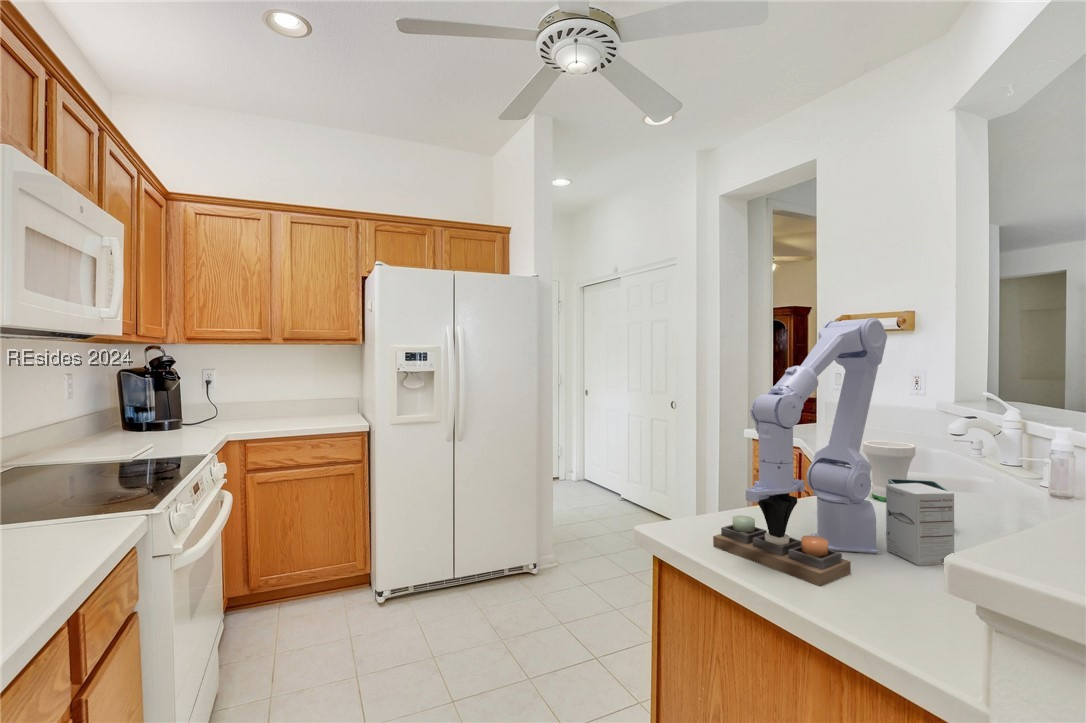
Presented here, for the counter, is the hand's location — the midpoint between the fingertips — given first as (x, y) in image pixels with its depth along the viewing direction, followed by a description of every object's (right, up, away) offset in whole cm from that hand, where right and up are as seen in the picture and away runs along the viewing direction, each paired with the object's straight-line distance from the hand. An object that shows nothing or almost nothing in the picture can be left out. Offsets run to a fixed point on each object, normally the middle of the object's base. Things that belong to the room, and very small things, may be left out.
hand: (776, 536), depth 92 cm
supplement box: (+26, -4, 0) cm, 26 cm away
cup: (+46, -4, +38) cm, 60 cm away
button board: (0, -4, 0) cm, 4 cm away
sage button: (-4, -1, +6) cm, 7 cm away
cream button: (0, -2, 0) cm, 2 cm away
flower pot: (+38, -4, +18) cm, 42 cm away
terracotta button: (+4, -1, -6) cm, 7 cm away
